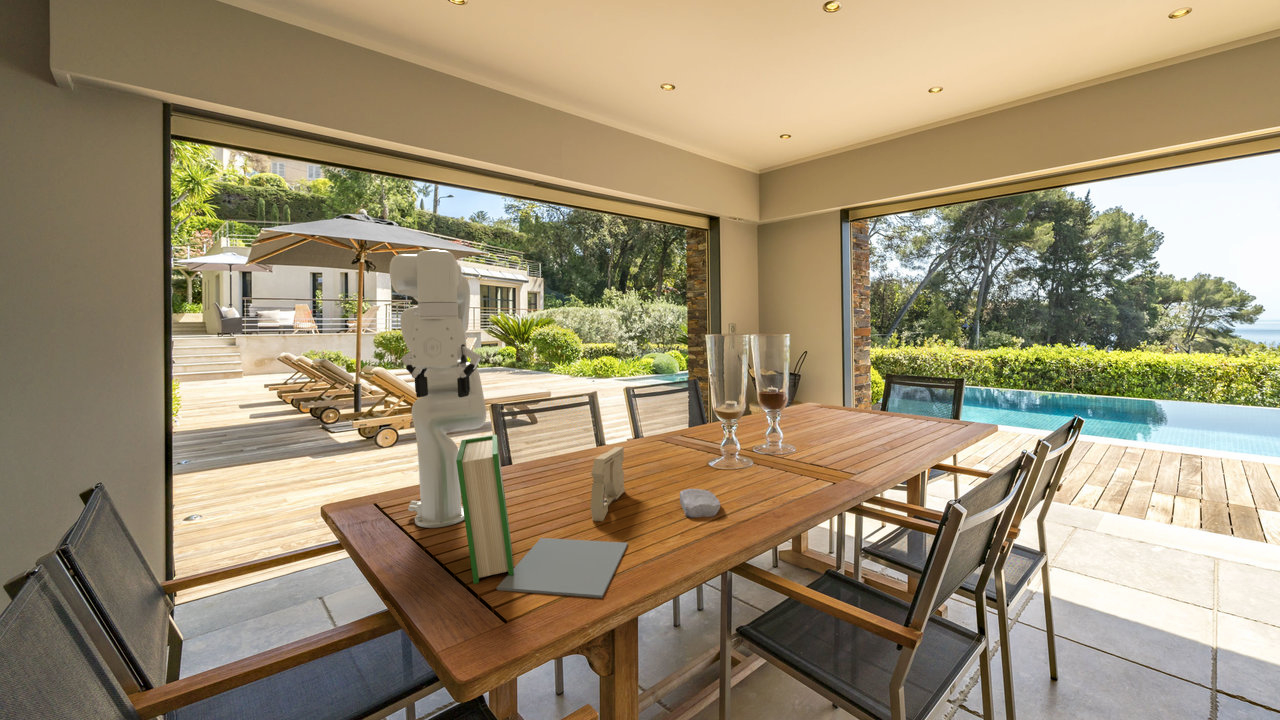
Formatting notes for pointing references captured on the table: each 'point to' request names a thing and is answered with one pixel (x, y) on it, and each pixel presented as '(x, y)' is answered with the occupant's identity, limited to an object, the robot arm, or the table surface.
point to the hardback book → (484, 507)
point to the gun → (606, 481)
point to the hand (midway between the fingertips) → (442, 396)
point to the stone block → (699, 503)
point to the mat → (566, 568)
